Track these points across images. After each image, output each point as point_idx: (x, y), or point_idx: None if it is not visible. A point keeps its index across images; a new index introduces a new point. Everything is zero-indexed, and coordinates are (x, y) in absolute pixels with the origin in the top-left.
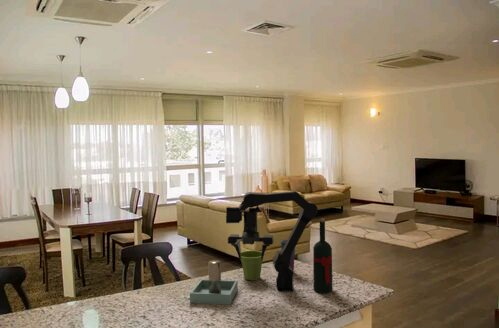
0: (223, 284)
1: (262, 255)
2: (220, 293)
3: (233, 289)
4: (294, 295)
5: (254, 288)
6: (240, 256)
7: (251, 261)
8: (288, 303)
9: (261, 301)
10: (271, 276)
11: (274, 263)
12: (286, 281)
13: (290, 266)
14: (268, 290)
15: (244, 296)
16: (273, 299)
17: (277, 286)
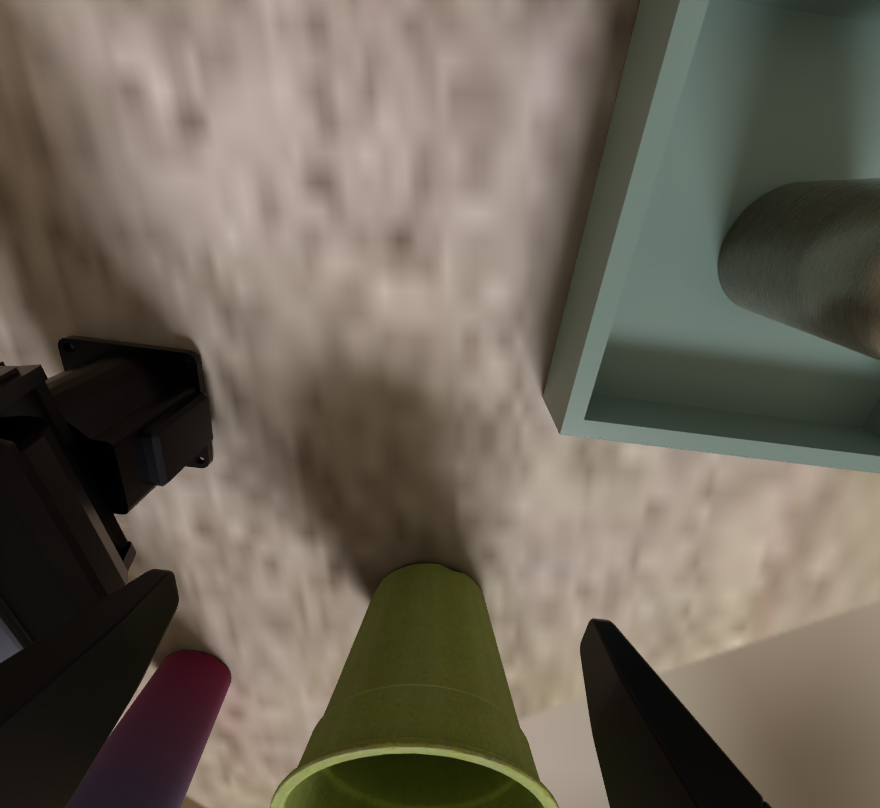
0: (687, 417)
1: (55, 647)
2: (737, 227)
3: (621, 194)
4: (26, 247)
5: (401, 417)
6: (614, 676)
7: (416, 705)
8: (14, 9)
9: (307, 78)
10: (297, 620)
11: (4, 530)
12: (50, 381)
13: (143, 703)
14: (279, 371)
15: (484, 229)
16: (195, 139)
17: (191, 397)
